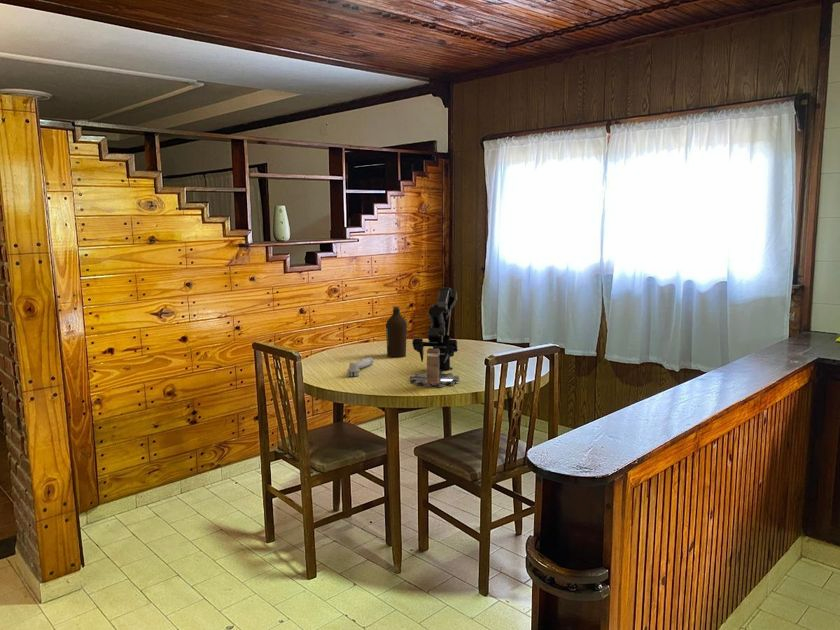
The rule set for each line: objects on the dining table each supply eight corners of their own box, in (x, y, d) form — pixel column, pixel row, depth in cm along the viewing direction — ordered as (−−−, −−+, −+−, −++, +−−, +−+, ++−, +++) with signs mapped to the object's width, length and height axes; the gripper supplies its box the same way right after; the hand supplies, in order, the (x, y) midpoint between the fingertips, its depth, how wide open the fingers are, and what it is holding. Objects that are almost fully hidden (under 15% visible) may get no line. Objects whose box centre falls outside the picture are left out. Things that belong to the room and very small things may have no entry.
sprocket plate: (400, 378, 268) (400, 373, 268) (442, 372, 279) (442, 367, 278) (425, 390, 250) (425, 384, 250) (468, 383, 260) (468, 378, 260)
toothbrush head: (375, 357, 294) (357, 361, 269) (374, 371, 294) (356, 376, 270) (364, 356, 295) (345, 360, 271) (364, 370, 295) (345, 375, 271)
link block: (428, 378, 261) (428, 348, 259) (439, 379, 260) (439, 348, 258) (426, 381, 257) (426, 350, 255) (437, 381, 256) (437, 351, 254)
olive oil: (408, 353, 318) (408, 305, 314) (405, 358, 307) (405, 308, 304) (388, 353, 319) (387, 304, 315) (384, 357, 309) (383, 307, 305)
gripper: (413, 319, 261) (407, 350, 252) (457, 320, 258) (453, 352, 249) (416, 334, 270) (411, 364, 261) (459, 335, 266) (455, 366, 257)
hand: (432, 361), depth 257 cm, fingers open, 9 cm apart
